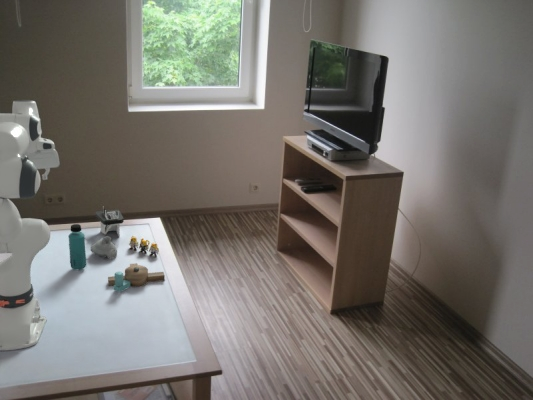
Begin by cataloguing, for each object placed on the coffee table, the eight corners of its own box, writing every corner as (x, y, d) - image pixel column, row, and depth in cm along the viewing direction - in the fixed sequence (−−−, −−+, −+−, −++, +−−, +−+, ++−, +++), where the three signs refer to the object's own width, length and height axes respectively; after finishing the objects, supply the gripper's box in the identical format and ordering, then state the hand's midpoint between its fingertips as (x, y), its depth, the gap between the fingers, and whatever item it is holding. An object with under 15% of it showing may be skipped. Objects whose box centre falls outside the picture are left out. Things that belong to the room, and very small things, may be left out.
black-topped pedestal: (77, 227, 279) (75, 201, 275) (131, 221, 290) (130, 196, 285) (86, 251, 256) (84, 223, 251) (144, 243, 266) (144, 217, 262)
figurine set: (132, 246, 262) (131, 233, 260) (161, 255, 256) (161, 242, 253) (127, 249, 259) (126, 236, 257) (156, 258, 253) (156, 245, 250)
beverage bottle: (89, 266, 242) (87, 222, 235) (83, 274, 236) (80, 229, 229) (74, 265, 242) (71, 221, 235) (67, 272, 236) (64, 227, 229)
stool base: (165, 284, 232) (165, 270, 230) (109, 289, 225) (108, 276, 223) (160, 266, 246) (159, 253, 244) (106, 271, 239) (106, 258, 237)
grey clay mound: (122, 258, 256) (127, 239, 252) (104, 268, 246) (109, 249, 241) (101, 245, 259) (105, 226, 255) (83, 255, 249) (87, 235, 245)
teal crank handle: (124, 283, 229) (124, 268, 227) (130, 286, 228) (130, 270, 225) (113, 290, 224) (112, 274, 222) (119, 292, 223) (118, 276, 220)
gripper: (-3, 148, 199) (1, 186, 204) (59, 144, 209) (61, 180, 214) (-5, 144, 204) (-1, 181, 209) (55, 139, 214) (58, 175, 219)
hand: (31, 180), depth 211 cm, fingers open, 8 cm apart
